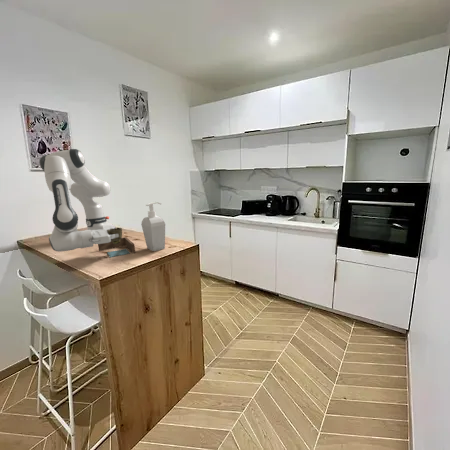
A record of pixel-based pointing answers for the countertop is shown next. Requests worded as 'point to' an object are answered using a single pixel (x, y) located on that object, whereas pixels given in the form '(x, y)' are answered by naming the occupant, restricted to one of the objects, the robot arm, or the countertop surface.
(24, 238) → the countertop surface
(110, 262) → the countertop surface
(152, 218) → the soap bottle
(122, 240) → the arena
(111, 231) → the cup
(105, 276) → the countertop surface
